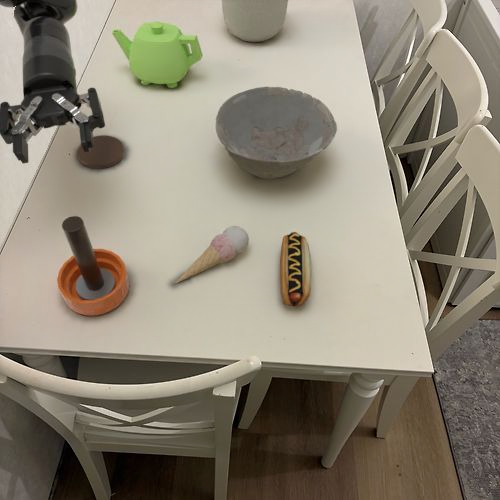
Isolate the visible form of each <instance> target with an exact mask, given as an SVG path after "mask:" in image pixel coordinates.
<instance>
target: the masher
mask: <svg viewBox="0 0 500 500" xmlns="http://www.w3.org/2000/svg"><path fill="white" fill-rule="evenodd" d="M61 228H62V230H63V233H64V235H65V238H66V240H67V242H68V246H69V248H70V250H71V253H72V256H74V257H75V260H76V262H77V265H78V267H79V270H80V272H81V276H80V277H79V278H78V280H77V282H76V291H77V293H78V296H79V297H80V298H81V299H82V300H95V299H99V298H102V297H104V296H106V295H108V294H109V293H111V292H112V291H113V290H114V289H115V288H116V282H115V279H114V276H113V275H112V273H111V272H109V271H108V270H106V269H102V268H99V265H98V262H97V259H96V256H95V253H94V250H93V249H94V248H93V245H92V242H91V240H90V239H91V238H90V237H89V234H88V231H87V227H86V224H85V221H84V219H83V218H82V217H80V216H77V215H72V216H68V217H67V218H65V219H64V220H63V221H62V223H61Z"/></svg>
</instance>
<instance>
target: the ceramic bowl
mask: <svg viewBox="0 0 500 500" xmlns="http://www.w3.org/2000/svg"><path fill="white" fill-rule="evenodd" d="M337 131H338V125H337V121H336V120H335V117H334V115H333V114H332V112H331V110H330V109H329V107H328V106H327V105H326V104H325V103H324V102H322V101H321V100H320V99H318V98H316V97H315V96H314V97H313V96H312V94H309V93H306V92H303V91H301V90H296V89H293V88H289V89H288V88H287V87H282V86H261V87H254V88H250V89H247V90H244V91H241V92H238V93H236V94H234V95H232V96H230V97H229V98H228V99H226V100H225V101H224V102H223V103H222V105H220V107H219V109H218V112H217V115H216V118H215V132H216V135H217V138H218V140H219V141H220V143H221V144H222V146H223V148H224V149H225V151H227V154H228V155H229V157H230V158H231V160H233V162H234V163H236V165H238V166H239V168H241V169H242V170H244V171H245V172H247V173H249V174H251V175H253V176H255V177H257V178H259V179H260V178H261V179H264V180H272V179H279V178H283V177H286V176H289V175H290V174H292V173H294V172H296V171H297V170H299V169H301V168H303V167H306V165H308V164H309V163H310V162H312V160H313V159H314V158H315V157H316V156H318V155H319V154H320V153H321V152H322V151H324V150H325V149H326V148H328V146H330V145H331V143H332V142H333V139H334V138H335V136H336V134H337Z"/></svg>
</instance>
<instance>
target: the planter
mask: <svg viewBox="0 0 500 500" xmlns="http://www.w3.org/2000/svg"><path fill="white" fill-rule="evenodd" d="M288 3H289V0H221V9H222V17H223V18H222V19H223V22H224V25H225V26H226V28H227V30H228V31H229V32H230V33H231V34H232V35H233V36H235V38H238V39H239V40H242V41H244V42H249V43H260V42H265V41H268V40H270V39H271V38H274V37H275V36H276V35H277V34H279V32H280V31H281V29H282V28H283V26H284V23H285V20H286V15H287V10H288Z"/></svg>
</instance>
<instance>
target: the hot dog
mask: <svg viewBox="0 0 500 500" xmlns="http://www.w3.org/2000/svg"><path fill="white" fill-rule="evenodd" d="M279 262H280V263H279V280H280V295H281V296H280V297H281V300H282V304H284V305H286V306H289V307H293V308H296V307H301V306H303V305H304V303H306V302H307V300H308V299H309V296H310V295H311V289H312V276H313V275H312V274H313V273H312V272H313V271H312V258H311V251H310V244H309V241H308V240H307V238H306V237H305V236H304V235H301V234H299V232H297V231H293V232H292V231H291V232H290V233H289V234H285V235H283V237H282V241H281V248H280V260H279Z"/></svg>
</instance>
